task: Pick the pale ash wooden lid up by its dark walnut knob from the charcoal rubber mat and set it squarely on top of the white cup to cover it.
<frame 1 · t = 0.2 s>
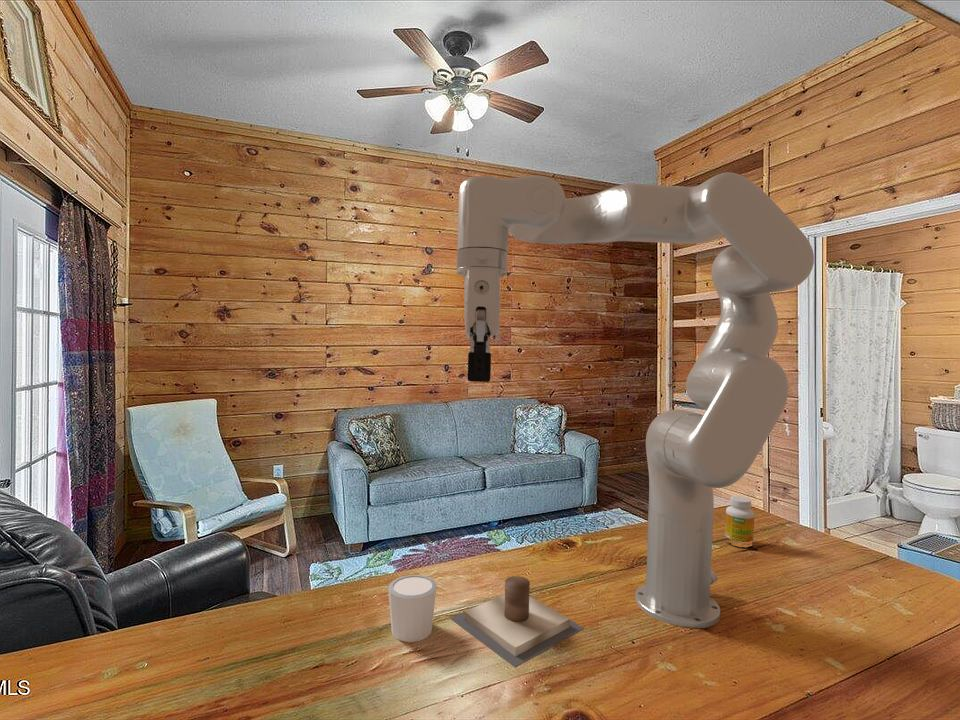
hand: (478, 378, 75), 36 cm above the table, tool pointing down, fingers open, 9 cm apart
supplement bottle: (738, 544, 106), on the table
white cup: (411, 634, 71), on the table
mat: (516, 626, 73), on the table
lid: (516, 623, 73), resting on mat
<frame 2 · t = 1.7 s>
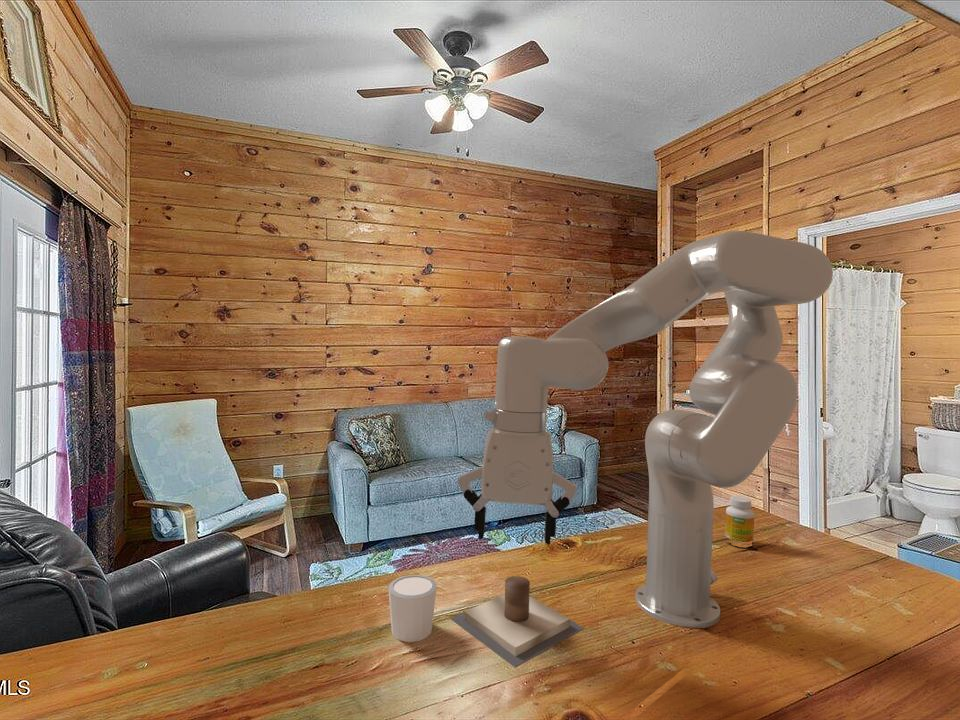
hand: (514, 538, 72), 13 cm above the table, tool pointing down, fingers open, 9 cm apart
nothing on the table moved.
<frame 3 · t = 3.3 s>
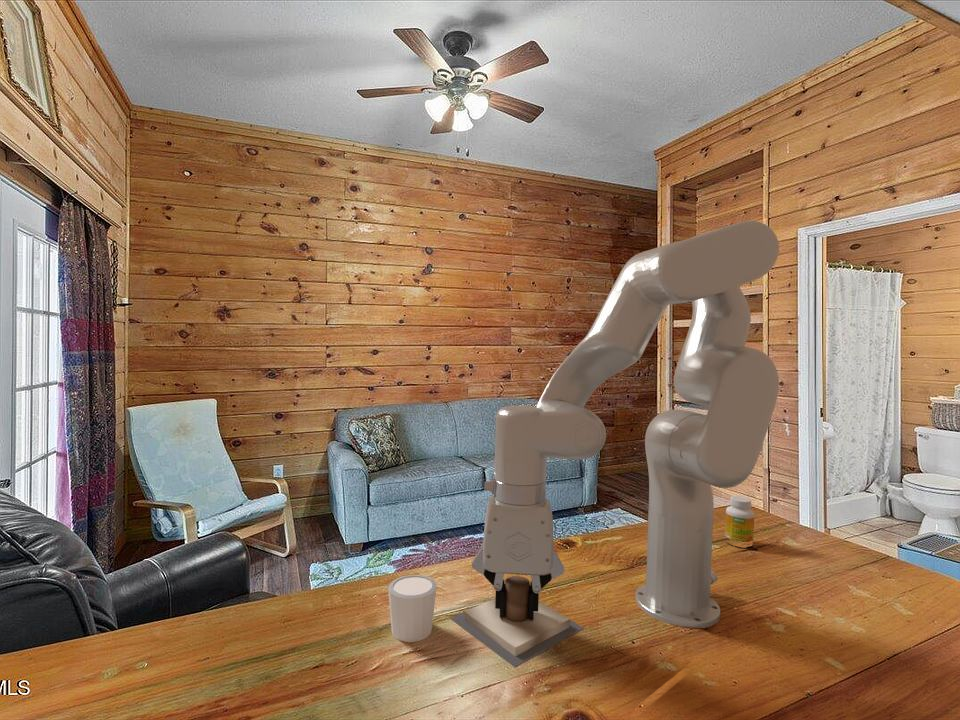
hand: (516, 612, 73), 2 cm above the table, tool pointing down, fingers closed on lid, 3 cm apart
lid: (516, 623, 73), resting on mat, touching gripper
everything else where it was.
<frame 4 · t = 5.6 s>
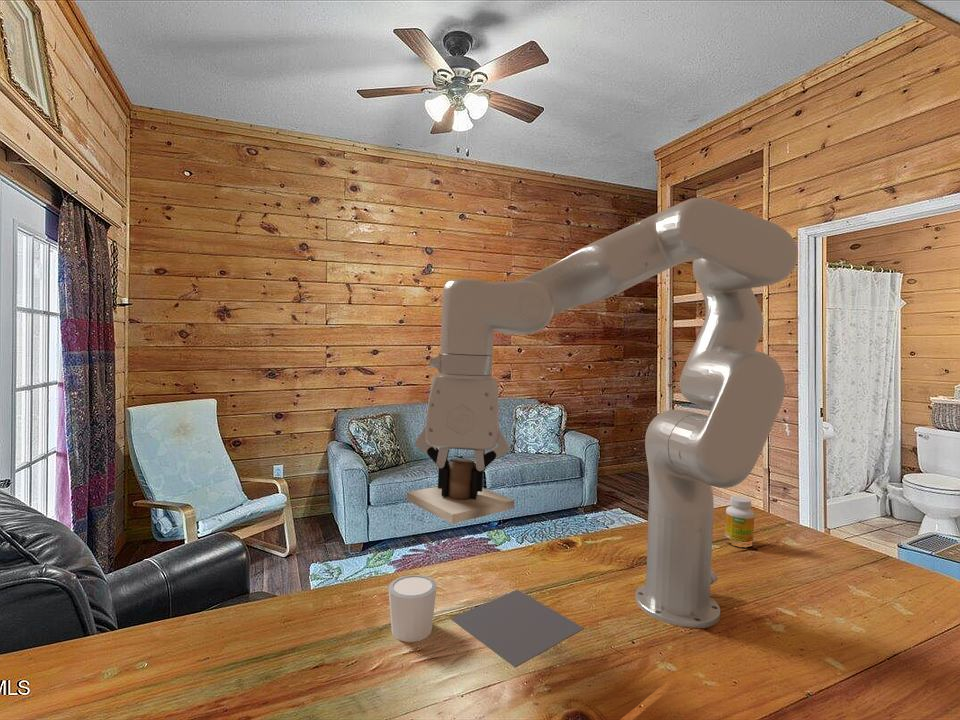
hand: (460, 493, 71), 20 cm above the table, tool pointing down, fingers closed on lid, 3 cm apart
lid: (459, 504, 71), point 19 cm above the table, touching gripper
everything else where it was.
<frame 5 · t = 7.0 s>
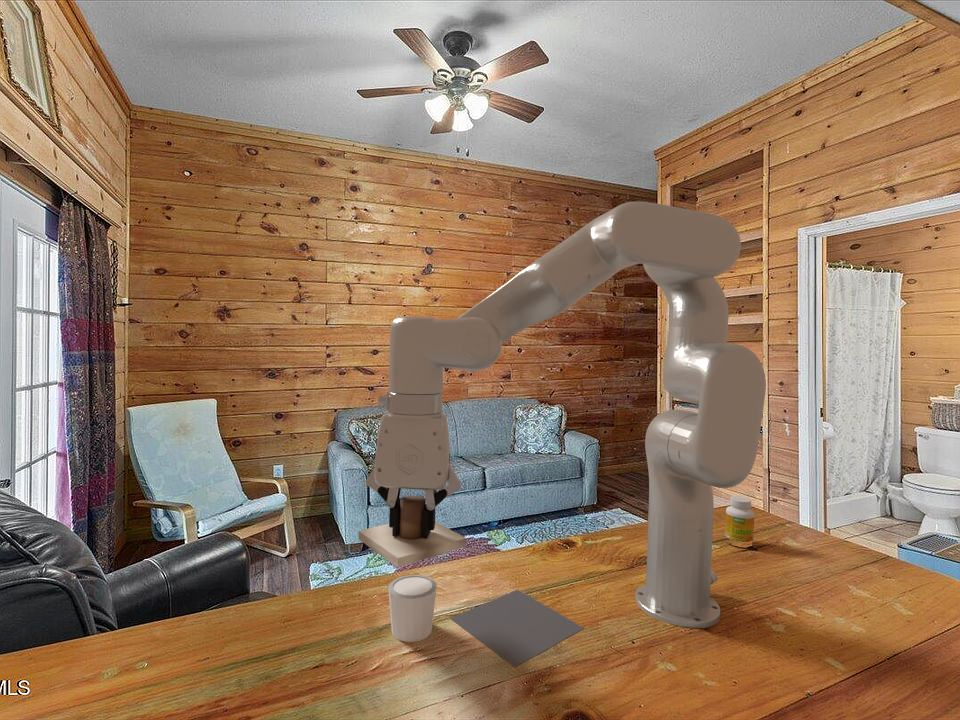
hand: (412, 532, 70), 15 cm above the table, tool pointing down, fingers closed on lid, 3 cm apart
lid: (411, 542, 70), point 13 cm above the table, touching gripper
everything else where it was.
when the fingers open (10 cm above the table, at t = 8.0 s): lid drops 2 cm, resting on white cup.
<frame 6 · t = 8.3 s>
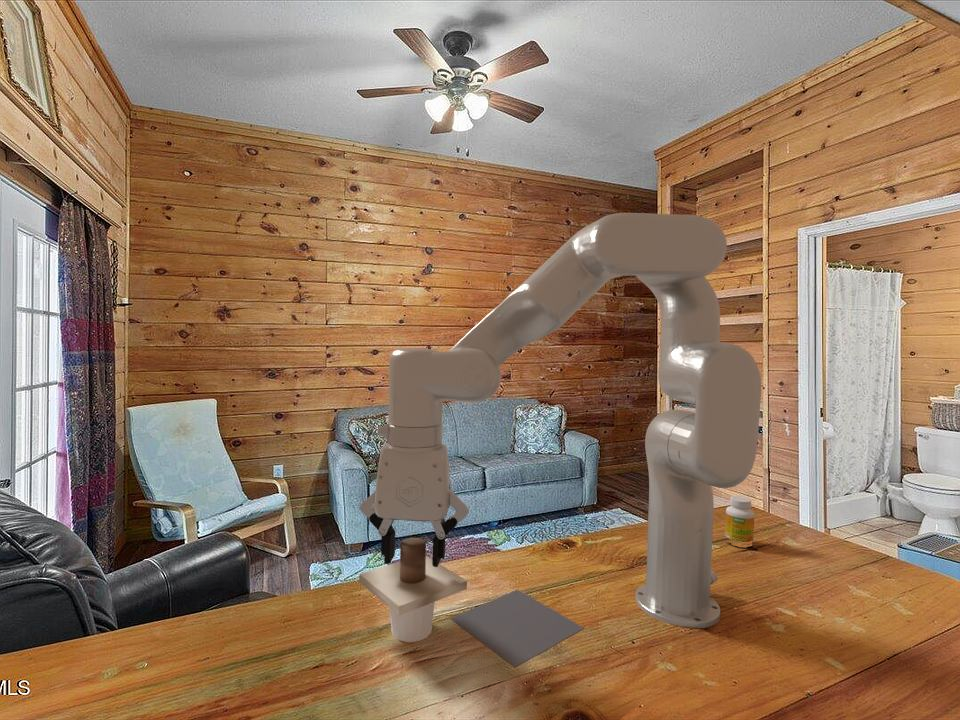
hand: (413, 560, 71), 11 cm above the table, tool pointing down, fingers open, 6 cm apart
white cup: (411, 634, 71), on the table, touching lid
lid: (412, 585, 71), point 7 cm above the table, touching white cup
everything else where it was.
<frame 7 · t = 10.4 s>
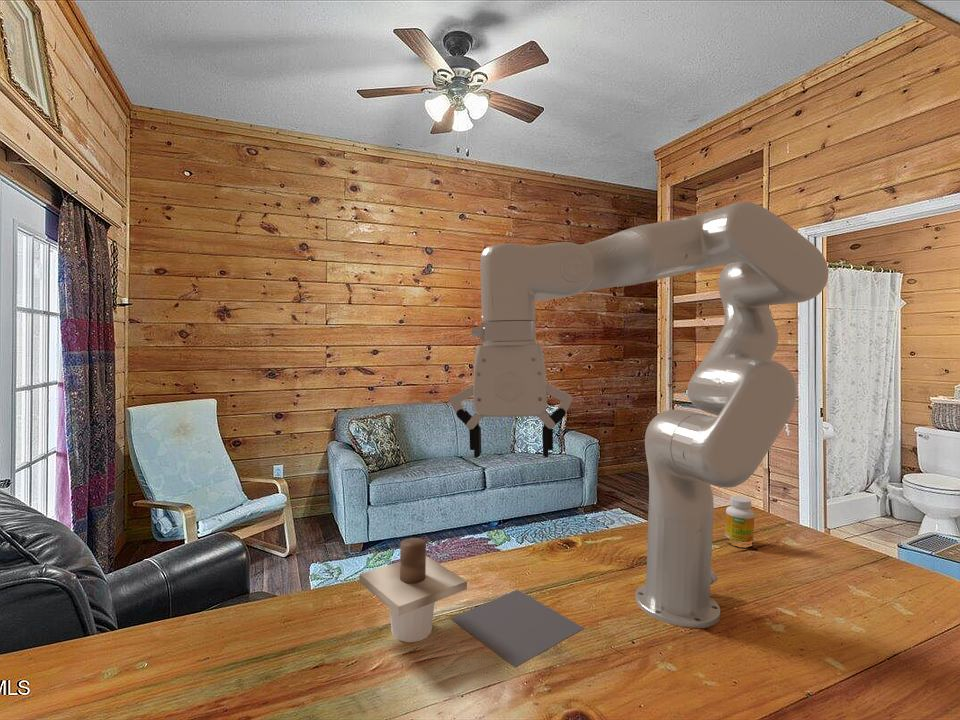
hand: (511, 455, 70), 26 cm above the table, tool pointing down, fingers open, 9 cm apart
nothing on the table moved.
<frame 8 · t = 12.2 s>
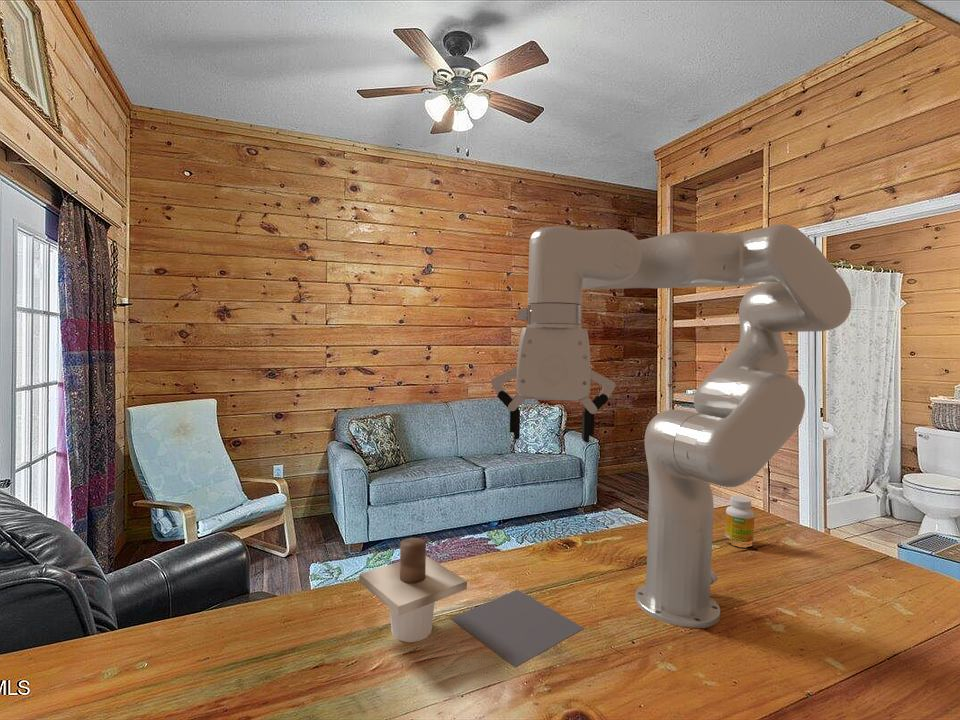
hand: (550, 439, 70), 28 cm above the table, tool pointing down, fingers open, 9 cm apart
nothing on the table moved.
at the end: lid 0.1 cm off-centre on the white cup, point 7.2 cm above the white cup's base; lid tilted 0°; white cup tilted 0° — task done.
